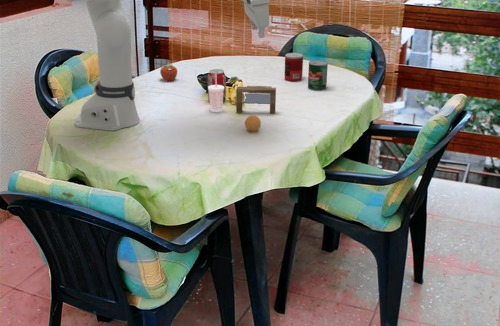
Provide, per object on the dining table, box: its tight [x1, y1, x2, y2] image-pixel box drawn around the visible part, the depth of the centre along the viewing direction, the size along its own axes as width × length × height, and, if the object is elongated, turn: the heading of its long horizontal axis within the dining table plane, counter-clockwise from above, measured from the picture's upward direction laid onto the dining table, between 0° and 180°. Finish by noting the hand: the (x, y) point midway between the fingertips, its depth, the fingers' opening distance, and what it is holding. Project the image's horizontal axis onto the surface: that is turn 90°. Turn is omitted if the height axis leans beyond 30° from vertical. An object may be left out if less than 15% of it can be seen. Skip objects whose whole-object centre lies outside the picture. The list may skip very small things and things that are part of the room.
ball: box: [244, 114, 262, 132], centre depth 213 cm, size 6×6×6 cm
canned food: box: [284, 52, 304, 83], centre depth 271 cm, size 8×8×11 cm
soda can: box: [207, 68, 227, 102], centre depth 242 cm, size 7×7×12 cm
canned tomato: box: [307, 59, 329, 92], centre depth 259 cm, size 8×8×11 cm
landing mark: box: [243, 92, 270, 105], centre depth 247 cm, size 12×12×1 cm
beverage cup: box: [207, 74, 224, 113], centre depth 231 cm, size 6×6×14 cm
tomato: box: [159, 62, 178, 82], centre depth 269 cm, size 7×7×8 cm
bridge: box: [235, 86, 277, 115], centre depth 231 cm, size 3×14×9 cm, turn 86°
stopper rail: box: [246, 85, 273, 88], centre depth 254 cm, size 10×2×2 cm, turn 86°
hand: (258, 33), depth 212 cm, fingers open, 8 cm apart
